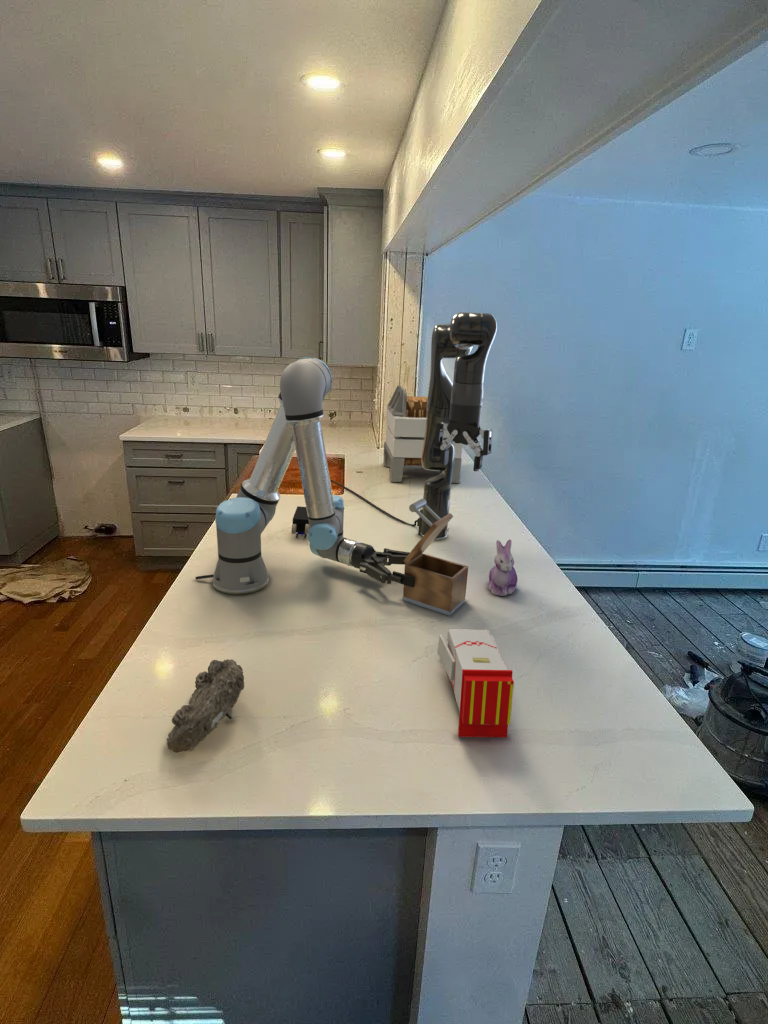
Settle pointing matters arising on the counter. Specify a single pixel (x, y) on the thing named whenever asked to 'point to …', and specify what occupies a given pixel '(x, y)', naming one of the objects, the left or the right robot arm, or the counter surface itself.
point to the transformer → (410, 435)
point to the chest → (436, 583)
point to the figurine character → (300, 522)
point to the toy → (478, 682)
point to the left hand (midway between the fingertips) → (424, 574)
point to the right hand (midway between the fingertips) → (460, 467)
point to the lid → (432, 531)
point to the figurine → (503, 571)
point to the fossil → (206, 705)
